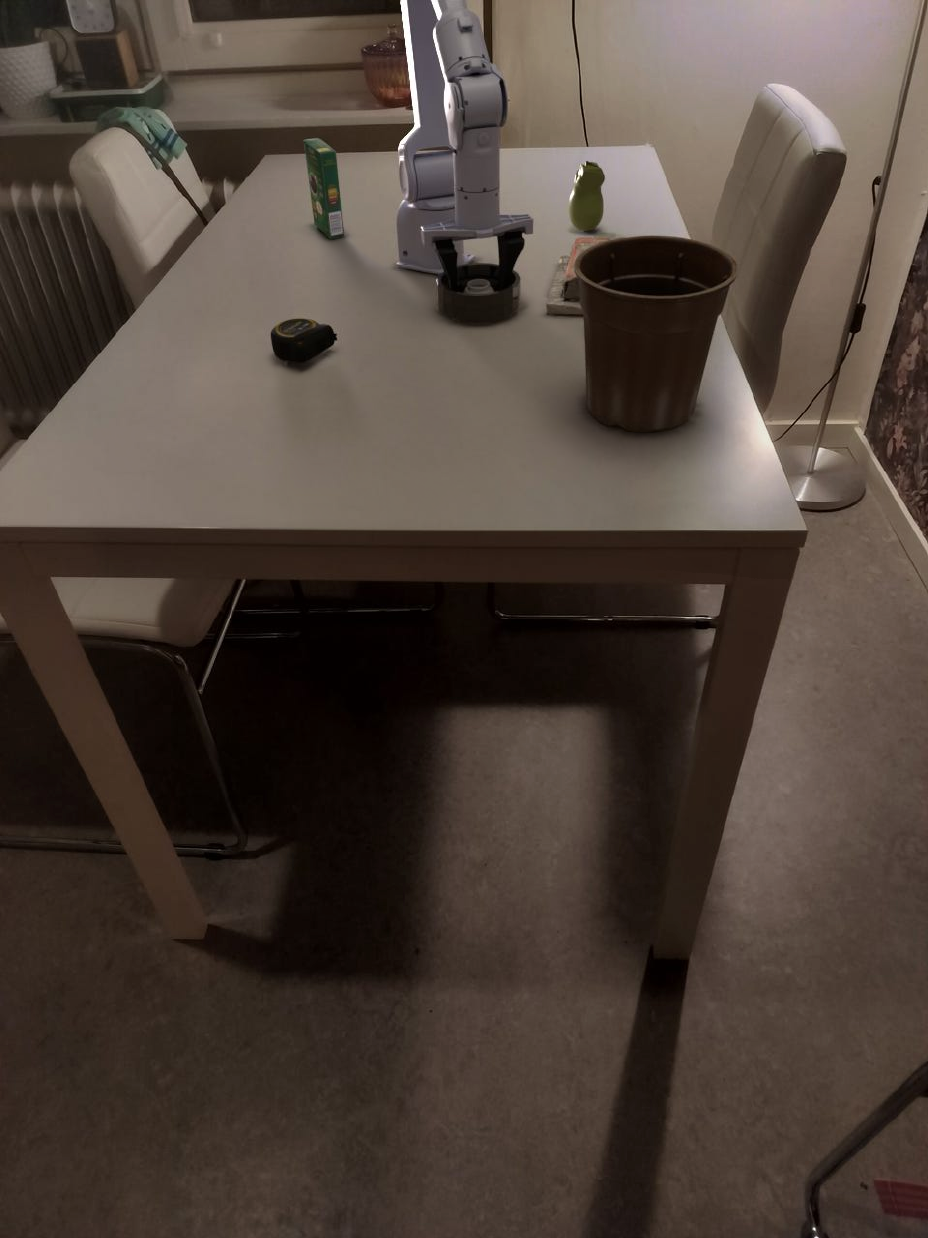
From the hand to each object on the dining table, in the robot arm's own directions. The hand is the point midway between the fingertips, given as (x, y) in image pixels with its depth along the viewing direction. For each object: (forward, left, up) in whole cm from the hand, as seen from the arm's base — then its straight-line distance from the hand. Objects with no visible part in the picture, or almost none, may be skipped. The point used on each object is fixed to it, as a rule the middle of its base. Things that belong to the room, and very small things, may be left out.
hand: (478, 292), depth 119 cm
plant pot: (+29, -16, -2) cm, 33 cm away
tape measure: (-13, -22, -2) cm, 26 cm away
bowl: (0, 0, -2) cm, 2 cm away
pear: (+1, +35, -2) cm, 35 cm away
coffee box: (-37, +17, -2) cm, 41 cm away
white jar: (0, 0, -2) cm, 2 cm away
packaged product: (+11, +12, -2) cm, 17 cm away
